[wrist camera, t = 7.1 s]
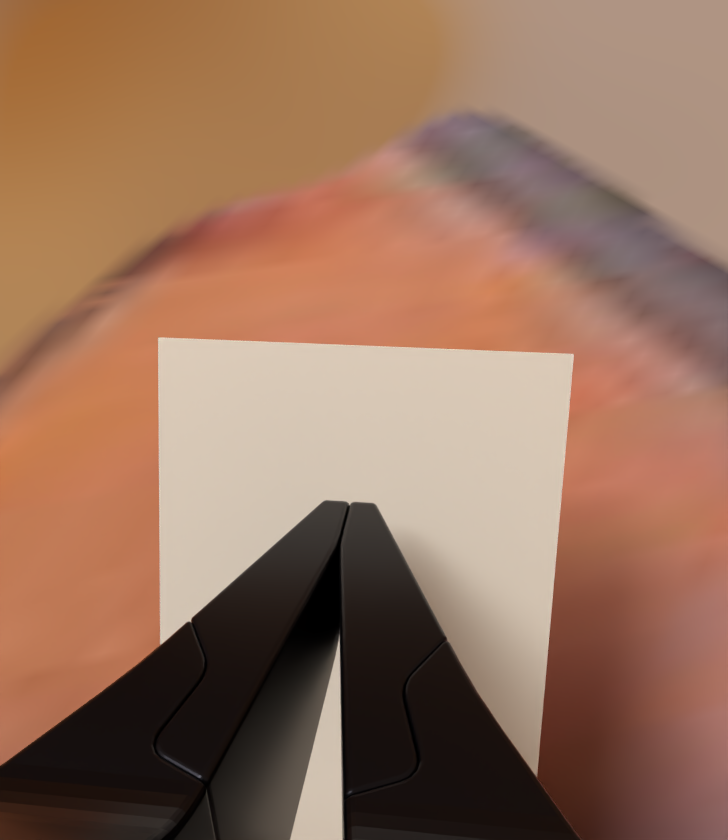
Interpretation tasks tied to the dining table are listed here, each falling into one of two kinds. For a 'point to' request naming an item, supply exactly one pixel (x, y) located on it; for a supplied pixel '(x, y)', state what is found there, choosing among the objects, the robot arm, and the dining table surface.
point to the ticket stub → (374, 497)
